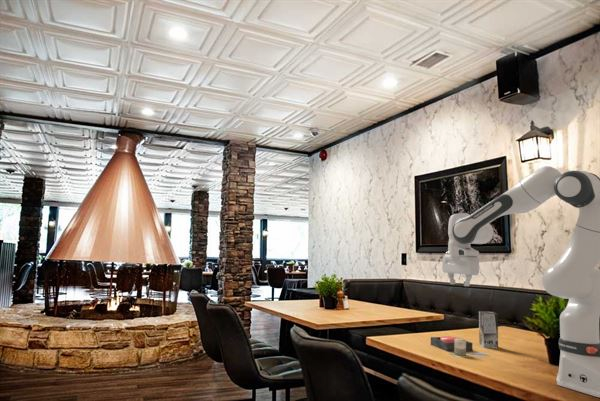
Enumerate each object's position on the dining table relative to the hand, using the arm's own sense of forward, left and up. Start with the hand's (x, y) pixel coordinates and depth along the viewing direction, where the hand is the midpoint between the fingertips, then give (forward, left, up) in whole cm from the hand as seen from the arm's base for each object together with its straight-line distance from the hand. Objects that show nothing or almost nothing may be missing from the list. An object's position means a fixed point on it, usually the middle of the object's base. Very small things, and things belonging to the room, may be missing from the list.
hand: (459, 285), depth 173 cm
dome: (+12, -4, -28) cm, 31 cm away
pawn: (0, 0, -28) cm, 28 cm away
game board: (+6, -4, -29) cm, 30 cm away
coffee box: (+14, -25, -29) cm, 42 cm away
